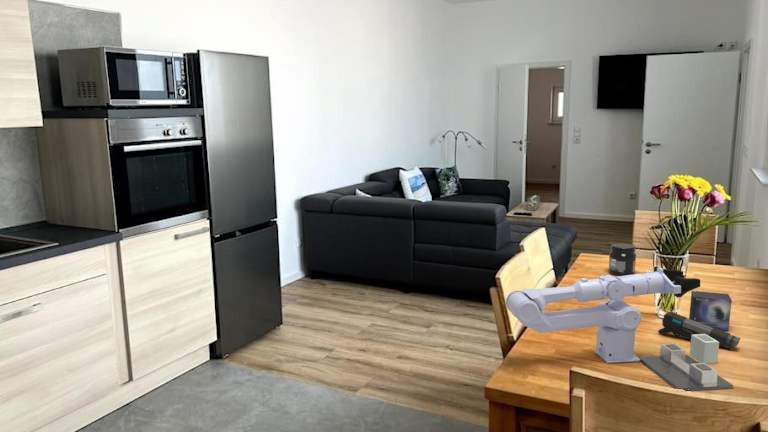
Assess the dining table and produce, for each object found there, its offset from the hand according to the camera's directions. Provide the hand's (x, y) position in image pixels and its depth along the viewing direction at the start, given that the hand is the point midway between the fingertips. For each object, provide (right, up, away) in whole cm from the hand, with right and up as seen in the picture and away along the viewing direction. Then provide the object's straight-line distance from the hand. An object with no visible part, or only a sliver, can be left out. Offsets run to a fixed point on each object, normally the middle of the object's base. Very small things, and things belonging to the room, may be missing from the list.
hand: (690, 278), depth 162 cm
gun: (+8, -20, +12) cm, 25 cm away
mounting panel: (-7, -24, -9) cm, 26 cm away
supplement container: (+16, -7, +86) cm, 88 cm away
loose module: (+4, -22, 0) cm, 22 cm away
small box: (+18, -18, +24) cm, 35 cm away
